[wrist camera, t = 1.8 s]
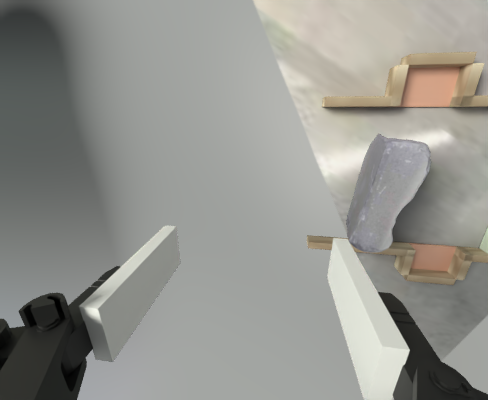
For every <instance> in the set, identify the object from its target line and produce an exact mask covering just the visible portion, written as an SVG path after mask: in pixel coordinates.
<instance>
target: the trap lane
mask: <svg viewBox="0 0 488 400" xmlns="http://www.w3.org/2000/svg"><path fill="white" fill-rule="evenodd" d="M476 53H477V52H454V53H421V54H410V55H408V56H406V57H404V58H402V59H401V64H400V65H398V66H396V67H393V68H391V69H390V72H389V77H388V82H387V87H386V92H385V96H354V97H324V98H323V103H322V107H488V96H474V94H475V91H476V88H477V85H478V81H479V78H480V75H481V72H482V69H483V66H484V63H473V62H474V59H475V56H476ZM333 238H336V237H323V236H309V235H308V236H307V244H308V248H312V249H325V250H332V244H333ZM341 239H348V240H349V238H341ZM351 246H352V248H353V250H354V251H355V252H362V253H370V252H363V251H361V250H359V249H357V248H355V247H354V246H353V245H352V244H351ZM374 254H386V255H397V256H396V260H395V264H394V266H395V268H396V269H397V270H398V272H399V273H400V274H402V276H403V277H404V278H405V279H406V281H414V282H425V283H435V284H446V285H454V283H455V280H456V279H458V280H464V279H465V277H466V274H467V272H468V269H469V267H470V264H471V262H484V263H488V228H487V230H486V233H485V235H484V238H483V240H482V242H481V245H480V247H479V248H471V247H458V246H444V245H431V244H417V243H404V242H392V244H391V246H390V247H389V248H388V249H386V250H384V251H382V252H376V253H374Z"/></svg>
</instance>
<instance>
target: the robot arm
mask: <svg viewBox="0 0 488 400" xmlns="http://www.w3.org/2000/svg"><path fill="white" fill-rule="evenodd" d="M179 265H180V254H179V245H178V236H177V227H176V226H164V227H163V228H162V229H161V230H160V231H159V232H158V233H157V234H156V235H155V236H153V237H152V238H151V239H150V240H149V241H148V242H147V243H146V244H145V245H144V246H143V247H142V248H141V249H140V250H139V251H138V252H136V253H135V254H134V255H133V256H132V257H131V258H130V259H129V260H128V261H127V262H126V263H125V264H124V265H123V266H122V267H120V266H116V267H114V268H113V269H111V270H109V271H107V272H106V273H105V274H103V275H102V276H101V277H100V278H99V279H98V281H96V282H94V283H93V284H92V285H91V287H89V288H88V289H87V290H85V291H84V292H83V293H82V294H81V295H80V296H79V297H78V298H76V299H75V300H74V301H73V302H72V303H71V304H70V305H69V306H68V305H67V302H66V299H65V297H64V295H63V294H60V293H50V294H46V295H43V296H40V297H38V298H36V299H33V300H32V301H30V302H29V303H27V304H26V305H24V306H23V307H22V308H21V309H20V310H19V313H20V316H21V318H22V320H23V323H24V325H25V326H22V327H16V328H9V326H8V324H7V322H6V321H5V320H4V319H0V400H77V397H78V394H79V391H80V387H81V384H82V380H83V377H84V373H85V370H86V363H87V361H86V356H87V355H88V354H89V353H90V351H91V350H92V349H93V352H94V355H95V359H97V360H103V361H109V362H113V361H114V360H115V358H116V357H117V355H118V354H119V352H120V351H121V349H122V348H123V346H124V345H125V344H126V342H127V341H128V339H129V338H130V336H131V335H132V334H133V332H134V331H135V329H136V328H137V326H138V325H139V323H140V322H141V320H142V319H143V317H144V316H145V314H146V313H147V311H148V310H149V309H150V307H151V306H152V304H153V303H154V301H155V299H156V298H157V297H158V295H159V294H160V292H161V291H162V290H163V288H164V286H165V285H166V284H167V282H168V281H169V279H170V278H171V276H172V275H173V273H174V272H175V271H176V269H177V268H178V266H179ZM327 278H328V282H329V285H330V288H331V292H332V295H333V298H334V302H335V305H336V308H337V312H338V315H339V318H340V322H341V325H342V328H343V331H344V335H345V338H346V342H347V345H348V348H349V352H350V355H351V358H352V362H353V365H354V368H355V372H356V375H357V378H358V382H359V385H360V388H361V392H362V395H363V398H364V400H392V399H393V397H394V400H488V394H486V393H483V392H481V391H479V390H477V389H475V388H473V387H472V386H471V385H470V384H469V383H468V381H467V380H466V379H465V378H464V377H463V376H462V375H461V374H460V373H458V372H457V371H456V370H455V369H453V368H451V367H450V366H448V365H446V364H445V363H443V362H441V361H440V359H439V358H438V356H437V355H436V353H435V352H434V350H433V349H432V347H431V346H430V344H429V343H428V341H427V340H426V338H425V337H424V335H423V333H422V332H421V330H420V329H419V327H418V326H417V325H416V324H415V321H414V320H413V318H412V317H411V316H410V315H409V312H408V311H407V309H406V308H405V306H404V305H403V303H402V302H401V301H399V300H398V299H397V298H396V297H395V296H394V295H392V294H391V293H382V292H377V291H376V289H375V287H374V285H373V283H372V282H371V280H370V278H369V276H368V275H367V273H366V271H365V269H364V267H363V266H362V264H361V262H360V260H359V259H358V257H357V255H356V253H355V251H354V250H353V248H352V246H351V244H350V243H349V241H348V239H341V238H333V244H332V250H331V257H330V263H329V270H328V276H327Z"/></svg>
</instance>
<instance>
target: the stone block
mask: <svg viewBox="0 0 488 400" xmlns="http://www.w3.org/2000/svg"><path fill="white" fill-rule="evenodd" d="M430 155H431V154H430V150H429V147H428V145H427V144H425V143H422V142H417V141H413V140H400V139H393V138H386V137H384V136H382V135H381V134H378V135H377V137H376V138H375V139H374V141H373V142H372V143H371V144H370V146H369V149H368V151H367V153H366V155H365V158H364V161H363V164H362V168H361V172H360V174H359V177H358V181H357V184H356V188H355V192H354V196H353V199H352V202H351V206H350V209H349V212H348V215H347V220H346V225H347V228H348V233H347V236H348V237H349V240H348V241H349V243H350V244H352V245H353V246H354V247H355V248H357V249H359V250H361V251H363V252H370V253H376V252H382V251H384V250H386V249H388V248H389V247H390V246H391V244H392V242H393V235H392V229H393V227H394V225H395V223H396V218H397V216H398V214H399V213H400V211H401V210H402V209H403V208H404V207H405V206H406V205H407V204H408V203H409V202H410V201H411V200H412V199H413V198H414V196H415V194H416V192H417V191H418V189H419V187H420V186H421V184H422V183H423V181H424V180H425V178H426V176H427V175H428V173H429V169H430V165H431V159H430Z"/></svg>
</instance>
